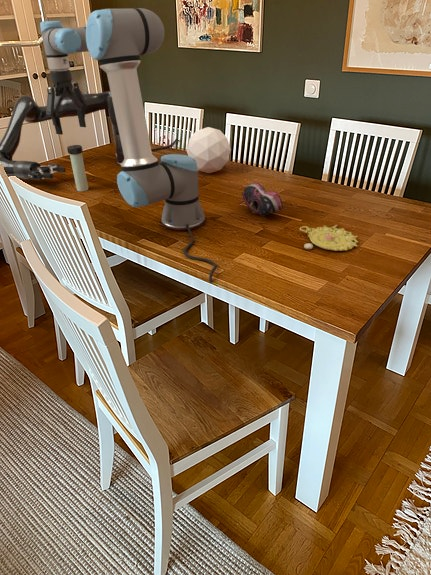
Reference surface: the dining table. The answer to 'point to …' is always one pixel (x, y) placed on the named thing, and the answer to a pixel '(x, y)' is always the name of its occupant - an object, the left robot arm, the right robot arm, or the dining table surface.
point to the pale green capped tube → (79, 172)
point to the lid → (74, 149)
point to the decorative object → (330, 238)
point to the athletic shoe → (261, 200)
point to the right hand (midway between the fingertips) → (71, 130)
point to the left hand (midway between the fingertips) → (58, 173)
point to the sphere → (209, 149)
